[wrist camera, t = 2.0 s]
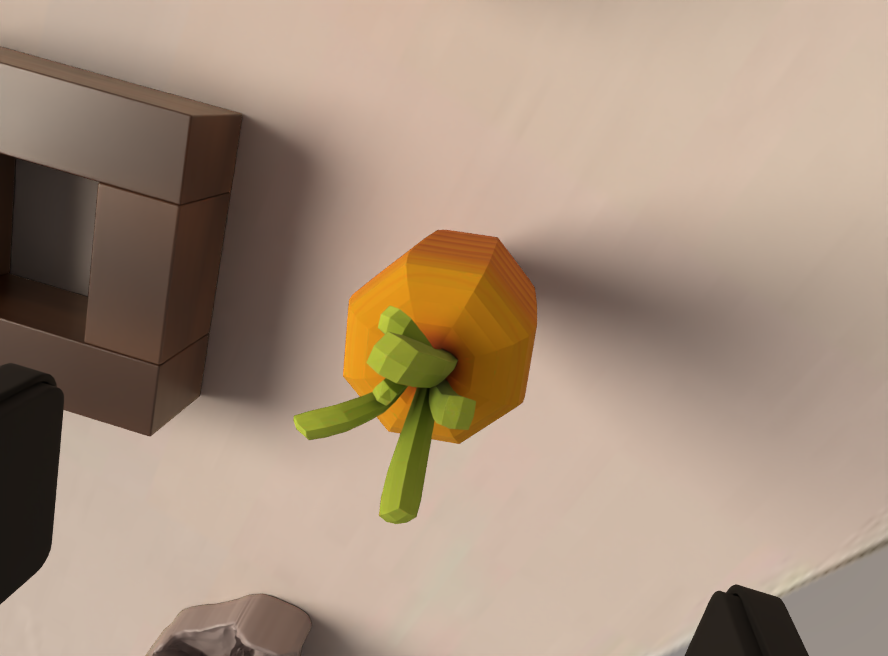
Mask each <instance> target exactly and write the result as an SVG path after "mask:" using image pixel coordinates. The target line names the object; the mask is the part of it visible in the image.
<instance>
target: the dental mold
mask: <svg viewBox="0 0 888 656" xmlns="http://www.w3.org/2000/svg"><path fill="white" fill-rule="evenodd" d="M311 627H312V623H311V621H310V618H309V616H308V615H307V614H306V613H305V612H304V611H302V610H301V609H299V608H297V607H295V606H293V605H291V604H288V603H286V602H284V601H282V600H279V599H277V598H275V597H272V596H268V595H264V594H255V595H248V596H245V597H242V598H240V599H236V600H232V601H228V602H223V603H219V604H211V605H200V606H195V607H190V608H186V609H184V610H182V611H181V612H180V613H179V614H178V615H177V617H176V618H175V619H174V621H173V622H172V624H171V625H169V626H168V627H167V628H165V629H164V630H163V632H162V633H161V634H160V636H159V637H158V639H157V640H156V641H155V643H154V644H153V645H152V647H151V648H150V650H149V651H148V652H147V654H146V655H145V656H300V655H301V649H302V645H303V643H304V641H305V639H306V637H307V635H308V633H309V631H310V629H311Z"/></svg>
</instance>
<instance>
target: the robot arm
mask: <svg viewBox="0 0 888 656" xmlns="http://www.w3.org/2000/svg"><path fill="white" fill-rule="evenodd" d="M63 409H64V394H63V391H62V390H61V389H60V388H58V387H57V384H56V381H55V378H54V377H53V376H52V375H50V374H47V373H44V372H41V371H38V370H34V369H31V368H28V367H25V366H21V365H18V364H14V363H7V364H4V365H1V366H0V604H1V603H2V602H4V601H5V600H6V599H7V598H8V597H9V596H10V595H12V594H13V593H14V592H15V591H16V590H17V589H18V588H19V587H21V586H22V585H23V584H24V583H25V582H26V581H27V580H29V579H30V578H31V577H32V576H33V575H34V574H35V573H36V572H37V571H38V570H39V569H40V568H41V567H42V565H43V564H44V563H45V561H46V559H47V557H48V555H49V552H50V550H51V544H52V534H53V523H54V511H55V500H56V489H57V477H58V466H59V454H60V443H61V431H62V420H63ZM685 656H809V655H808V653H807V651H806V649H805V647H804V645H803V642H802V640H801V638H800V636H799V634H798V632H797V630H796V628H795V625H794V623H793V621H792V619H791V617H790V615H789V613H788V611H787V609H786V607H785V604H784V603H783V601H782V600H781V599H780V598H778V597H776V596H773V595H769V594H766V593H763V592H759V591H756V590H753V589H750V588H746V587H743V586H740V585H737V584H736V585H733V586H731V587H730V588H729V589H728V591H727V592H726V593H725V592H722V591H716V592H715V593H714V594H713V595H712V597H711V599H710V601H709V603H708V605H707V608H706V610H705V612H704V614H703V616H702V619H701V621H700V623H699V625H698V627H697V630H696V632H695V634H694V636H693V638H692V641H691V643H690V645H689V647H688V649H687V652H686V654H685Z"/></svg>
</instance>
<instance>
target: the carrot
mask: <svg viewBox="0 0 888 656" xmlns="http://www.w3.org/2000/svg"><path fill="white" fill-rule="evenodd" d="M536 328H537V301H536V293H535V287H534V286H533V284H532V283H531V281H530V280H529V278H528V277H527V276H526V274H525V273H524V272H523V270H522V269H521V268H520V266H519V265H518V264H517V262H516V261H515V260H514V258H513V257H512V256H511V254H510V253H509V252H508V250H507V249H506V248H505V246H504V245H503V244H502V242H501V241H500V240H499V238H498V237H492V236H485V235H478V234H471V233H464V232H458V231H451V230H437V231H435V232H434V233H432V234H431V235H429V236H428V237H426V238H425V239H423V240H422V241H421V242H419V243H418V244H417V245H415V246H414V247H413V248H412V249H410V250H409V251H408V252H406V253H405V254H404V255H402V256H401V257H400V258H399V259H397V260H396V261H395V262H393V263H392V264H391V265H389V266H388V267H387V268H386V269H384V270H383V271H382V272H380V273H379V274H378V275H376V276H375V277H374V278H373V279H371V280H370V281H369V282H368V283H366V284H365V285H364V286H363V287H361V288H360V289H359V290H358V291H357V292H355V293H354V294H353V295H352V296H351V298H350V299H349V307H348V319H347V332H346V344H345V357H344V370H343V377H344V378H345V379H346V380H347V382H348V383H349V384H350V385H351V386H352V388H353V389H354V390H355V391H356V392H357V394H358V395H359V396H360V397H358V398H355V399H352V400H349V401H346V402H343V403H340V404H337V405H333V406H329V407H325V408H320V409H316V410H312V411H308V412H305V413H301V414H298V415H295V416H294V419H293V420H294V423H295V426H296V429H297V430H298V431H299V432H300V433H302V434H303V435H304V436H305V437H306V438H307V439H309V440H313V439H319V438H325V437H329V436H332V435H336V434H339V433H343V432H346V431H349V430H351V429H353V428H355V427H357V426H359V425H362V424H364V423H366V422H368V421H370V420H372V419H373V418H375V417H377V418H378V419H379V420H380V422H381V423H382V424H383V425H384V426H385V428H386V429H387V430H388V431H389V432H395V433H400V437H399V440H398V443H397V446H396V448H395V451H394V454H393V457H392V460H391V463H390V466H389V469H388V472H387V476H386V480H385V484H384V488H383V492H382V496H381V503H380V512H379V516H380V517H381V518H383V519H384V520H385V521H386V522H390V523H394V524H400V523H406V522H409V521H410V520H412V519H414V518H415V517H417V513H418V509H419V506H420V502H421V497H422V490H423V484H424V478H425V473H426V467H427V461H428V455H429V450H430V444H431V439H434V440H440V441H445V442H451V443H457V444H460V443H461V442H463V441H465V440H466V439H468V438H469V437H471V436H472V435H474V434H475V433H477V432H479V431H480V430H482V429H483V428H485V427H486V426H488V425H489V424H491V423H493V422H494V421H496V420H497V419H499V418H500V417H502V416H503V415H505V414H506V413H508V412H510V411H511V410H513V409H514V408H516V407H517V406H519V405H520V404H521V403H522V402H523V400H524V398H525V393H526V387H527V381H528V375H529V369H530V363H531V357H532V351H533V345H534V339H535V334H536Z"/></svg>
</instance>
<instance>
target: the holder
mask: <svg viewBox="0 0 888 656" xmlns="http://www.w3.org/2000/svg"><path fill="white" fill-rule="evenodd" d="M241 121H242V114H241V113H238V112H234V111H231V110H227V109H223V108H220V107H216V106H213V105H209V104H205V103H202V102H198V101H195V100H191V99H187V98H184V97H180V96H177V95H173V94H169V93H166V92H162V91H159V90H155V89H151V88H148V87H144V86H141V85H137V84H133V83H130V82H126V81H123V80H119V79H115V78H112V77H108V76H105V75H101V74H97V73H94V72H90V71H87V70H83V69H79V68H76V67H72V66H69V65H65V64H61V63H58V62H54V61H51V60H47V59H43V58H40V57H36V56H33V55H29V54H25V53H22V52H18V51H15V50H11V49H7V48H4V47H0V366H1V365H4V364H7V363H14V364H18V365H21V366H25V367H28V368H31V369H34V370H38V371H41V372H44V373H47V374H50V375H52V376H53V377H54V378H55V381H56V384H57V387H58V388H60V389H61V390H62V391H63V394H64V409H63V410H66V411H69V412H72V413H76V414H79V415H82V416H85V417H89V418H92V419H95V420H98V421H101V422H105V423H108V424H111V425H114V426H118V427H121V428H124V429H127V430H130V431H134V432H137V433H140V434H143V435H147V436H152V435H153V434H154V433H155V432H157V431H158V430H159V429H160V428H161V427H163V426H164V425H165V424H166V423H167V422H169V421H170V420H171V419H172V418H174V417H175V416H176V415H177V414H178V413H180V412H181V411H182V410H183V409H185V408H186V407H187V406H188V405H189V404H191V403H192V402H193V401H194V400H195V399H197V398H198V397H199V396H200V392H201V385H202V378H203V372H204V365H205V359H206V352H207V345H208V339H209V331H210V324H211V318H212V311H213V305H214V298H215V291H216V285H217V278H218V272H219V265H220V258H221V252H222V245H223V239H224V232H225V225H226V219H227V212H228V206H229V199H230V191H231V187H232V181H233V174H234V167H235V161H236V154H237V148H238V141H239V134H240V128H241ZM15 158H18V159H21V160H25V161H28V162H32V163H35V164H39V165H42V166H46V167H49V168H53V169H56V170H60V171H63V172H67V173H70V174H74V175H77V176H80V177H84V178H87V179H91V180H94V181H98V182H100V183H99V184H98V191H97V202H96V214H95V225H94V236H93V247H92V259H91V270H90V281H89V293H88V297H86V296H83V295H80V294H76V293H73V292H70V291H66V290H63V289H60V288H56V287H53V286H50V285H46V284H43V283H39V282H36V281H33V280H29V279H26V278H23V277H19V276H16V275H13V274H9V272H10V258H11V237H12V217H13V197H14V176H15Z"/></svg>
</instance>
